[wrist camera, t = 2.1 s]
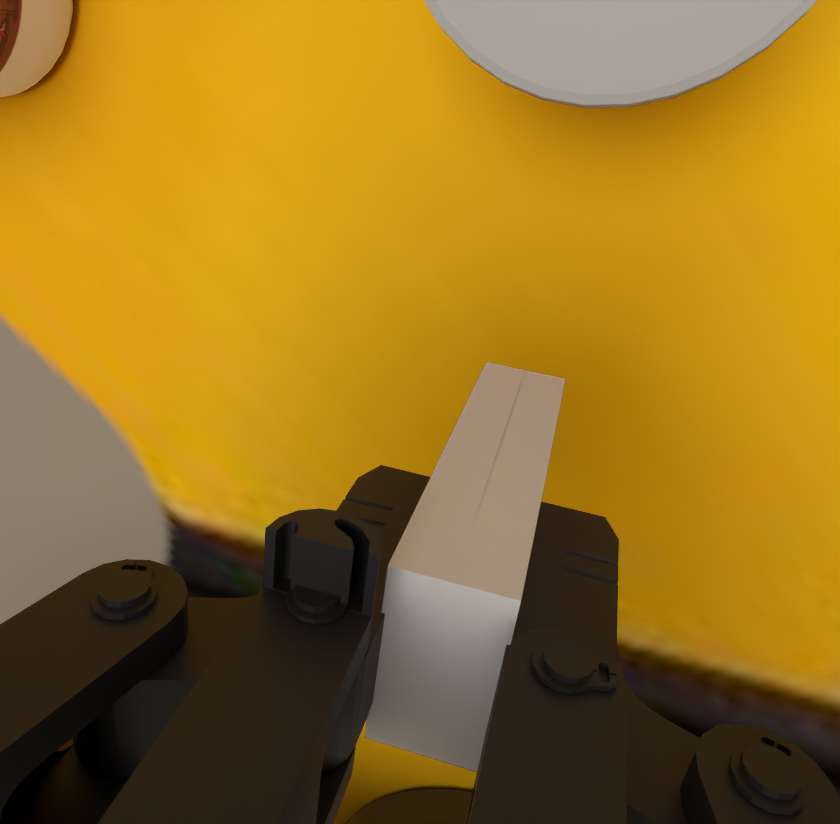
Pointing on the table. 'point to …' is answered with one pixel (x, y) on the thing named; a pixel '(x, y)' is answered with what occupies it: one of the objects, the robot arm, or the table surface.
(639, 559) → the table surface
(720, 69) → the canned food
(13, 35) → the milk bottle
